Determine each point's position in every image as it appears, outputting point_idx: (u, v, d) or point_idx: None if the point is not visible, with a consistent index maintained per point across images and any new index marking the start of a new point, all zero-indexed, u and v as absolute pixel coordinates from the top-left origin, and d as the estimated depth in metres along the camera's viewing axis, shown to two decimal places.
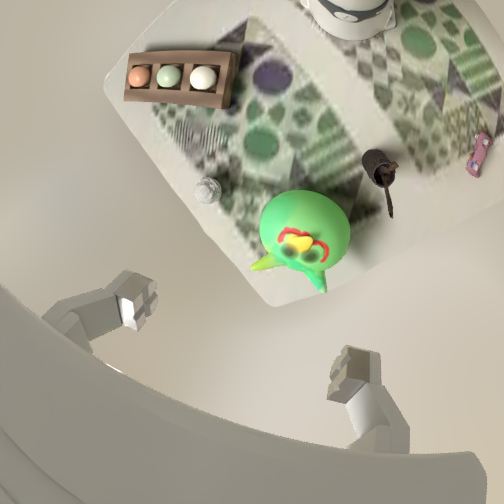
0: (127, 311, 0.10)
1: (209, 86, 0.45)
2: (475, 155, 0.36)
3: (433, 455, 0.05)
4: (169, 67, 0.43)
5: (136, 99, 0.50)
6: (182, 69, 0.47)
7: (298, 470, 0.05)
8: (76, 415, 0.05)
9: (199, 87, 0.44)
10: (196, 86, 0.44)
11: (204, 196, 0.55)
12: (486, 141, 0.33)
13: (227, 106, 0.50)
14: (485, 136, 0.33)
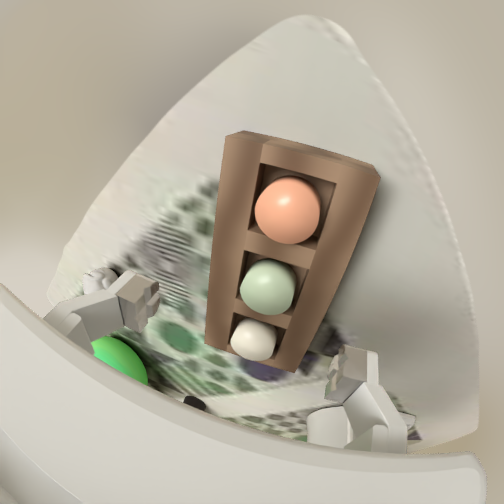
0: (129, 312, 0.10)
1: None
2: None
3: (433, 455, 0.05)
4: (285, 305, 0.24)
5: (224, 185, 0.22)
6: None
7: (298, 470, 0.05)
8: (77, 415, 0.05)
9: (233, 341, 0.29)
10: (235, 338, 0.29)
11: None
12: None
13: None
14: None
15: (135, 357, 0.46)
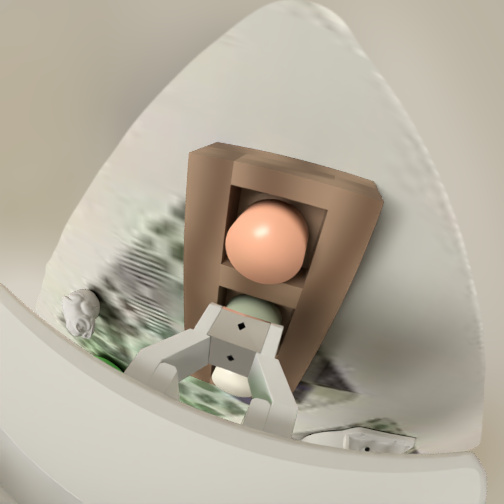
0: (221, 351, 0.09)
1: None
2: None
3: (433, 455, 0.05)
4: None
5: (191, 211, 0.18)
6: None
7: (298, 470, 0.05)
8: (77, 416, 0.05)
9: (214, 377, 0.25)
10: (216, 375, 0.25)
11: (67, 327, 0.30)
12: None
13: None
14: None
15: None
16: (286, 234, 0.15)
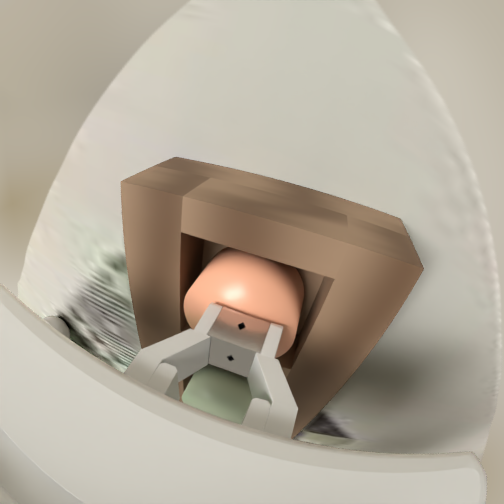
0: (221, 351, 0.09)
1: None
2: None
3: (433, 456, 0.05)
4: None
5: (133, 264, 0.12)
6: None
7: (298, 470, 0.05)
8: (77, 415, 0.05)
9: None
10: None
11: None
12: None
13: None
14: None
15: None
16: (269, 307, 0.10)
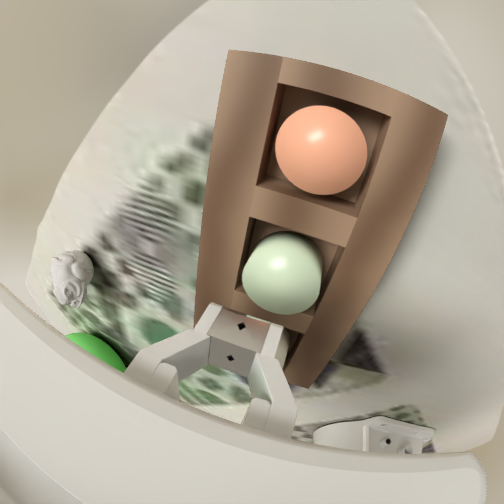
0: (221, 351, 0.09)
1: None
2: None
3: (433, 455, 0.05)
4: (308, 300, 0.16)
5: (223, 117, 0.14)
6: None
7: (298, 470, 0.05)
8: (76, 415, 0.05)
9: None
10: None
11: (54, 293, 0.26)
12: None
13: None
14: None
15: (115, 359, 0.38)
16: (348, 130, 0.12)
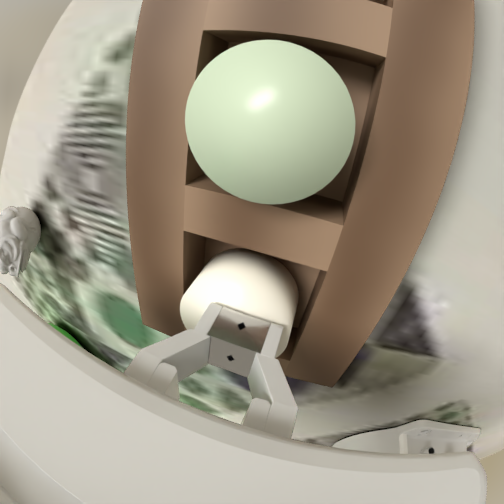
0: (221, 351, 0.09)
1: None
2: None
3: (433, 456, 0.05)
4: (333, 154, 0.07)
5: None
6: None
7: (298, 470, 0.05)
8: (77, 415, 0.05)
9: (187, 312, 0.11)
10: (190, 302, 0.11)
11: None
12: None
13: None
14: None
15: None
16: None
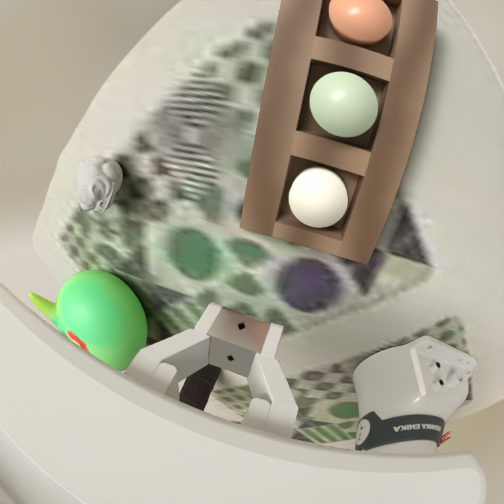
0: (221, 351, 0.09)
1: None
2: None
3: (433, 456, 0.05)
4: (369, 118, 0.16)
5: None
6: None
7: (298, 470, 0.05)
8: (76, 415, 0.05)
9: (293, 193, 0.22)
10: (297, 186, 0.21)
11: (79, 196, 0.25)
12: None
13: None
14: None
15: (133, 294, 0.37)
16: (377, 3, 0.11)
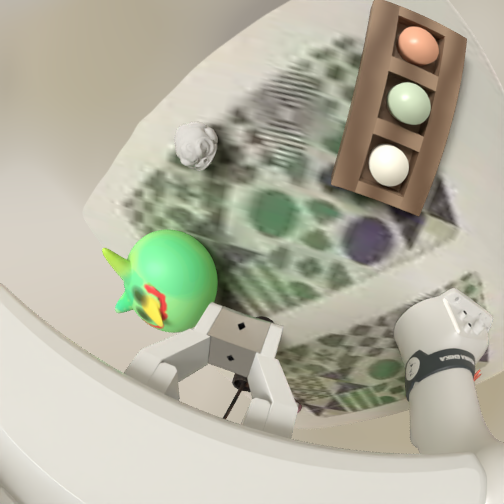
0: (221, 351, 0.09)
1: None
2: None
3: (433, 455, 0.05)
4: (425, 114, 0.22)
5: (374, 24, 0.19)
6: None
7: (298, 470, 0.05)
8: (76, 415, 0.05)
9: (373, 160, 0.28)
10: (376, 155, 0.27)
11: (182, 152, 0.32)
12: None
13: None
14: (297, 412, 0.59)
15: (208, 252, 0.43)
16: (430, 38, 0.18)
